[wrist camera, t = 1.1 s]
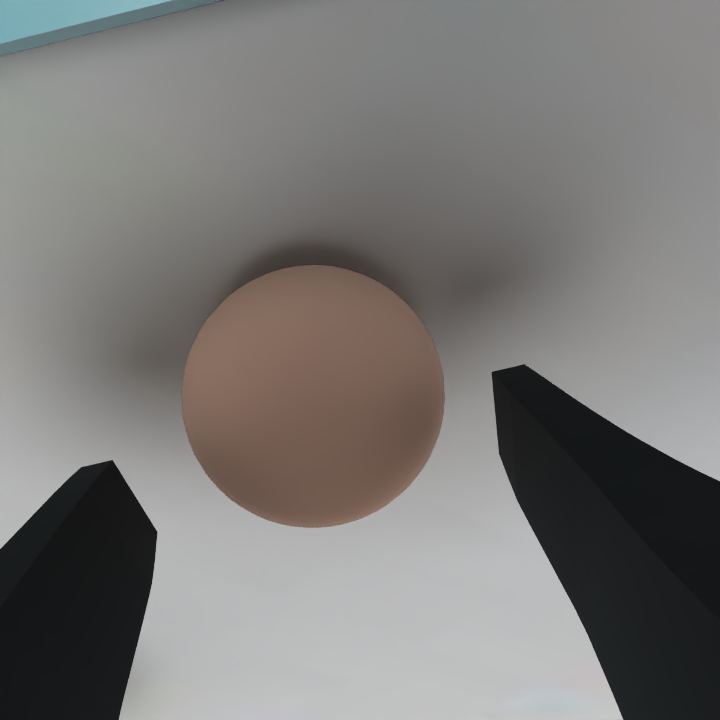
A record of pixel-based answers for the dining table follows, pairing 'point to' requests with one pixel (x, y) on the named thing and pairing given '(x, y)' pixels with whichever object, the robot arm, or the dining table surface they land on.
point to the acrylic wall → (74, 18)
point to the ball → (313, 396)
